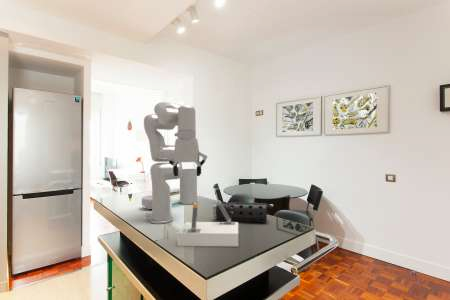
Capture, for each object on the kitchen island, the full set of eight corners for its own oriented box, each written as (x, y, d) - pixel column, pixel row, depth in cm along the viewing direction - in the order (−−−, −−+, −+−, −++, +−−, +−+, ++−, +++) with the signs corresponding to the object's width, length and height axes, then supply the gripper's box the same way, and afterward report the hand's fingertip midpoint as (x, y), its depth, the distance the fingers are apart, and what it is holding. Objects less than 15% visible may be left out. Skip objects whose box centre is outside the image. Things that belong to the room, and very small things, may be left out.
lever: (228, 224, 107) (216, 203, 108) (228, 222, 111) (216, 201, 111) (231, 222, 107) (219, 201, 108) (231, 220, 111) (219, 199, 111)
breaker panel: (177, 245, 96) (177, 232, 96) (186, 232, 112) (186, 221, 112) (238, 246, 95) (238, 233, 95) (238, 233, 111) (238, 221, 111)
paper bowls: (159, 211, 155) (159, 199, 155) (137, 210, 158) (137, 198, 158) (168, 206, 170) (168, 195, 170) (148, 205, 173) (148, 194, 173)
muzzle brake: (266, 225, 123) (266, 204, 123) (212, 222, 129) (212, 203, 129) (267, 220, 133) (266, 201, 133) (216, 218, 138) (216, 199, 138)
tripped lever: (190, 231, 97) (192, 204, 97) (192, 228, 101) (194, 202, 101) (194, 231, 97) (196, 204, 97) (196, 228, 101) (198, 202, 101)
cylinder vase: (177, 204, 176) (177, 169, 176) (183, 201, 188) (183, 168, 188) (194, 205, 174) (193, 169, 174) (199, 201, 186) (198, 168, 186)
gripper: (163, 135, 101) (164, 176, 100) (205, 134, 99) (205, 176, 98) (170, 136, 108) (170, 175, 108) (208, 135, 106) (209, 175, 106)
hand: (187, 175), depth 103 cm, fingers open, 9 cm apart
